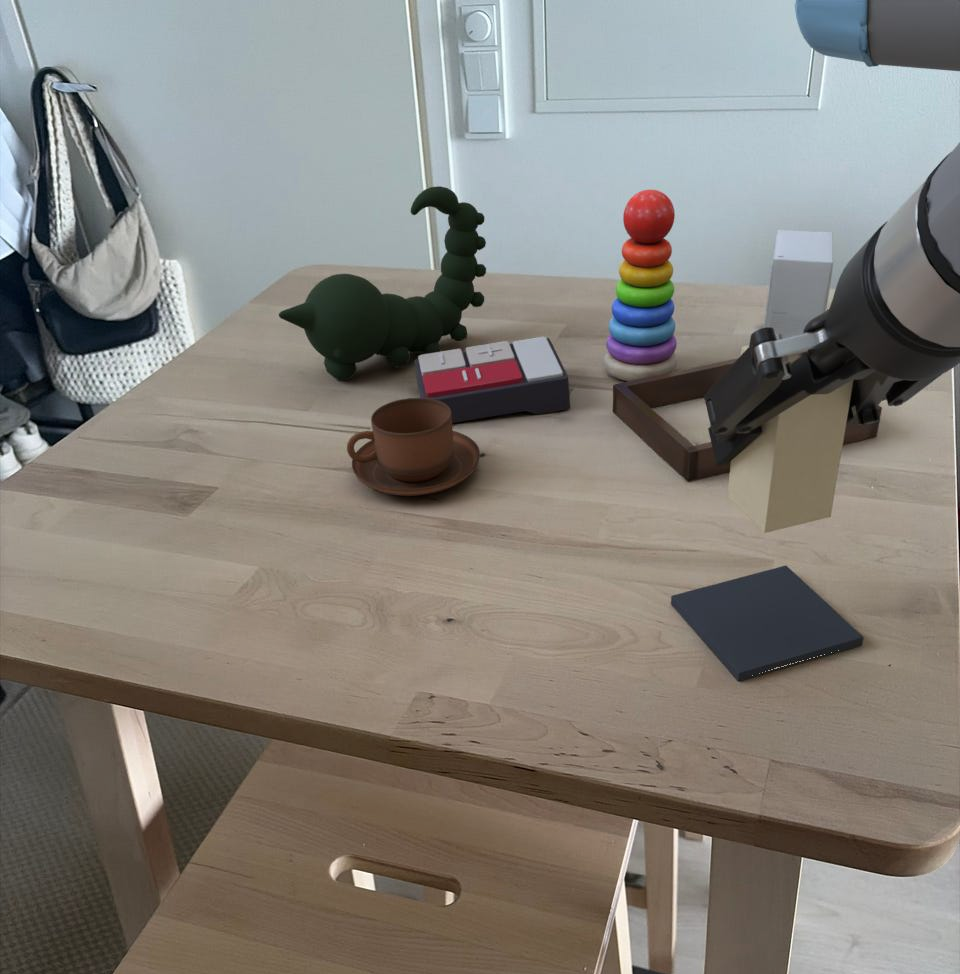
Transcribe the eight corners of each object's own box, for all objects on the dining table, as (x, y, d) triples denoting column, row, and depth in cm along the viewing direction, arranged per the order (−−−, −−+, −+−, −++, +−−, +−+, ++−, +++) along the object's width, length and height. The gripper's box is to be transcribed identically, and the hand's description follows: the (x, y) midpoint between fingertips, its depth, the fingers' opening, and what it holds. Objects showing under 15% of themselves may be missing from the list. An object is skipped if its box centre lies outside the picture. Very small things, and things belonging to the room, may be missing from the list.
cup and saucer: (394, 522, 91) (385, 459, 87) (332, 471, 99) (322, 412, 95) (506, 478, 96) (502, 418, 92) (438, 433, 104) (433, 376, 100)
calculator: (412, 352, 111) (548, 329, 112) (418, 389, 114) (551, 367, 114) (421, 394, 103) (568, 370, 103) (427, 433, 105) (571, 409, 106)
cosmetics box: (820, 357, 112) (834, 260, 106) (759, 355, 114) (770, 259, 107) (821, 322, 120) (834, 229, 114) (764, 320, 122) (774, 228, 115)
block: (790, 483, 73) (811, 332, 66) (830, 517, 69) (857, 360, 62) (726, 498, 72) (741, 346, 65) (764, 533, 68) (783, 375, 61)
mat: (784, 573, 81) (786, 565, 80) (862, 645, 73) (864, 636, 73) (670, 603, 79) (670, 595, 78) (737, 681, 71) (739, 673, 71)
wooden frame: (783, 374, 110) (787, 347, 108) (876, 436, 98) (882, 407, 96) (612, 411, 105) (612, 384, 103) (687, 482, 93) (689, 452, 91)
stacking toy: (596, 382, 111) (598, 200, 99) (611, 353, 117) (614, 178, 105) (670, 387, 109) (680, 202, 97) (681, 357, 115) (692, 179, 103)
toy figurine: (455, 338, 128) (268, 377, 116) (455, 173, 117) (249, 198, 105) (498, 361, 121) (305, 404, 110) (502, 189, 110) (288, 217, 99)
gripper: (1099, 179, 50) (870, 369, 73) (740, 226, 48) (620, 408, 70) (1140, 324, 49) (895, 471, 72) (776, 379, 47) (643, 513, 69)
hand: (759, 439), depth 71 cm, fingers closed on block, 5 cm apart
